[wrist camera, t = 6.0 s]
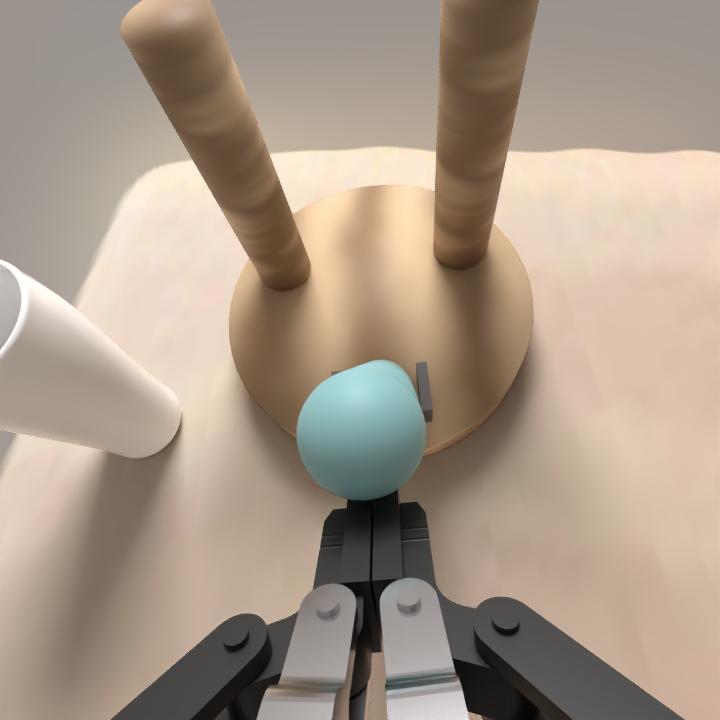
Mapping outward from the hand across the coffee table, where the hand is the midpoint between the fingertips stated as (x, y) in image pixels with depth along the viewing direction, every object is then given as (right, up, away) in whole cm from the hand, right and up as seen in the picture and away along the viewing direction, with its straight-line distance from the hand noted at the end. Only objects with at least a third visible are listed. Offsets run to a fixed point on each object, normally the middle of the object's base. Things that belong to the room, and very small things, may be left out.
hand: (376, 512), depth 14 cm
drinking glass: (-15, 0, +19) cm, 24 cm away
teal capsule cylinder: (+1, +3, +14) cm, 14 cm away
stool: (+1, +7, +19) cm, 21 cm away
